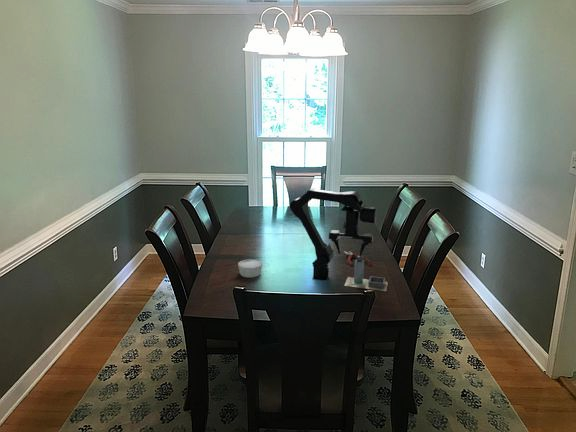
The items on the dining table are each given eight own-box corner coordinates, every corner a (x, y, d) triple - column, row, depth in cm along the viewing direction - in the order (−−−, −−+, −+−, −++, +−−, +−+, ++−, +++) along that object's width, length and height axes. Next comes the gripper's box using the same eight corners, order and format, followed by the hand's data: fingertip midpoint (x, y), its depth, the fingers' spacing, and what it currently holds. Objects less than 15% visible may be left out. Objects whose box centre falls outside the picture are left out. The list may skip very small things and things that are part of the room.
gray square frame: (368, 287, 200) (368, 281, 199) (369, 281, 206) (370, 276, 205) (383, 289, 198) (384, 283, 197) (384, 283, 204) (385, 277, 203)
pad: (351, 284, 202) (351, 283, 202) (353, 279, 207) (353, 278, 207) (364, 286, 201) (364, 285, 201) (365, 281, 206) (365, 280, 206)
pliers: (355, 252, 244) (356, 247, 244) (372, 266, 226) (372, 261, 225) (335, 254, 241) (335, 249, 241) (350, 268, 223) (350, 263, 222)
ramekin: (252, 267, 220) (252, 257, 219) (267, 274, 212) (267, 264, 211) (233, 273, 213) (233, 262, 212) (247, 281, 205) (247, 270, 204)
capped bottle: (353, 283, 203) (354, 257, 199) (354, 279, 206) (355, 254, 203) (362, 284, 201) (363, 258, 198) (363, 280, 205) (365, 255, 202)
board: (344, 286, 201) (344, 285, 201) (347, 277, 210) (348, 276, 210) (386, 291, 196) (386, 291, 196) (387, 282, 205) (387, 282, 205)
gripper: (375, 218, 202) (373, 251, 207) (334, 214, 207) (332, 246, 212) (372, 225, 192) (370, 259, 196) (329, 220, 197) (327, 254, 201)
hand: (350, 255), depth 202 cm, fingers open, 9 cm apart
